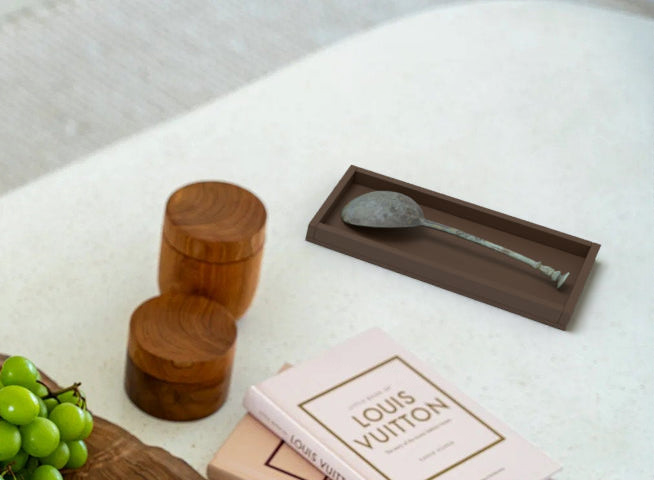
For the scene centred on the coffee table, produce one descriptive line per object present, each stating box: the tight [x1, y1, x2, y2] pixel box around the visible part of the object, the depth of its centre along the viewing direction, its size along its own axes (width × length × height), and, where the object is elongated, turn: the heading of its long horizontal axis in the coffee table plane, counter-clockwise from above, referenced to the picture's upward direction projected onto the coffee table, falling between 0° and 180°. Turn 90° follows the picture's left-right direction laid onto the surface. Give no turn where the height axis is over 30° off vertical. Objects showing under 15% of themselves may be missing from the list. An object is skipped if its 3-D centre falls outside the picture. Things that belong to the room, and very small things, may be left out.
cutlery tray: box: [304, 164, 602, 331], centre depth 111 cm, size 25×12×2 cm, turn 59°
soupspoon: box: [341, 191, 569, 289], centre depth 110 cm, size 22×3×7 cm
